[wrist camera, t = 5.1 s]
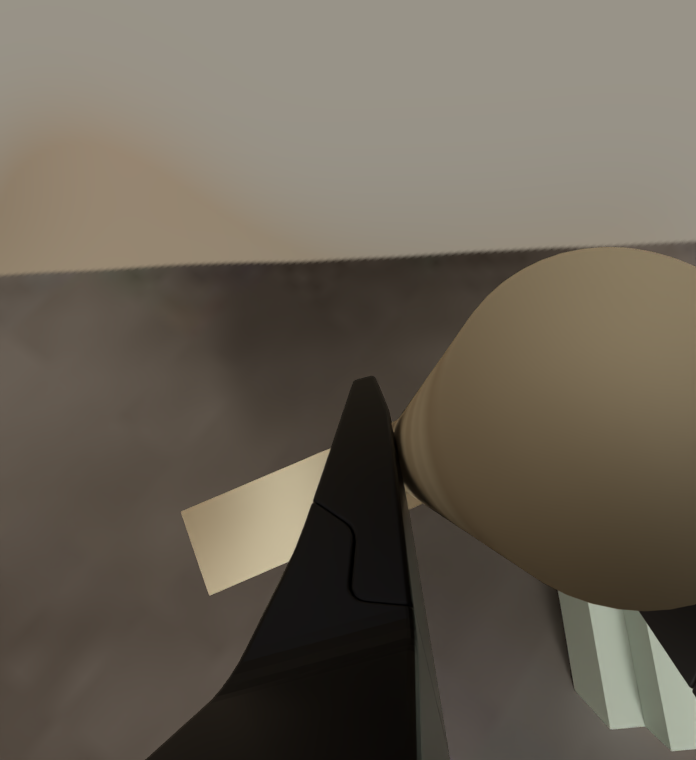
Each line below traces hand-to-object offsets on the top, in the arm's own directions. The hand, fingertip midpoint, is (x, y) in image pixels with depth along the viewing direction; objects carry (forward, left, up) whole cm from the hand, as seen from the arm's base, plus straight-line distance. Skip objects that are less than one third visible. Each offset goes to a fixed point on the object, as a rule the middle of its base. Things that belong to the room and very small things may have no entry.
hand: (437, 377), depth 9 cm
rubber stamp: (-1, +1, -7) cm, 7 cm away
